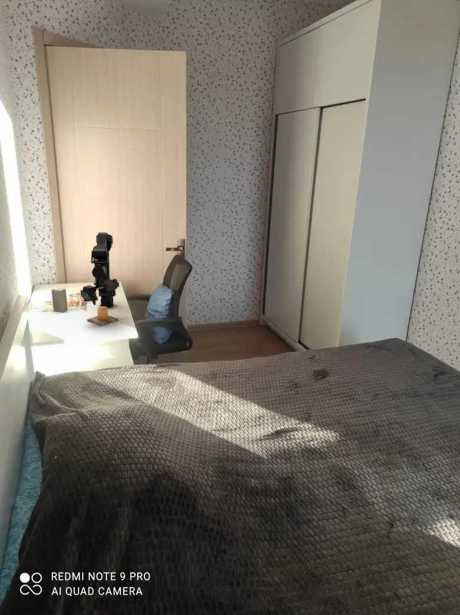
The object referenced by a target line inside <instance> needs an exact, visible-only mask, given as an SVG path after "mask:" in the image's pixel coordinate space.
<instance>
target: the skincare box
mask: <svg viewBox="0 0 460 615" xmlns="http://www.w3.org/2000/svg"><path fill="white" fill-rule="evenodd" d="M51 299H52V306H53V307H52V308H53V312H57V313H58V312H60V313H64V312H67V311H68V299H67V289H66V288H65V287H63V288H62V287H54V288H52V289H51Z"/></svg>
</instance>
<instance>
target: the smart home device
mask: <svg viewBox="0 0 460 615" xmlns="http://www.w3.org/2000/svg"><path fill="white" fill-rule="evenodd" d="M79 293H80V294H81V295H80V296H81V297H83V298H82V300H83V299H84V300H83V302H92V301H91V299H90V297H89V296H88V294H86V293H85V292H83V289H80V292H79ZM97 301H99V296H98V295H97V294H96V302H97Z"/></svg>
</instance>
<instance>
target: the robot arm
mask: <svg viewBox="0 0 460 615" xmlns="http://www.w3.org/2000/svg"><path fill="white" fill-rule="evenodd" d="M95 243H96V245H94V246H93V248H92V249H91V254H90V256H91V257H90V265H91V264H92V265H93V268H92V270H91V275H92V276H93V278H94V282H93V285H90V284H89V285H85V286H83V287H82V290H83V292H85V293H86V294H88V296H89V297H90V299H91V301H90V302H91V303H92V304H93V305H94V306H96V305H97V301H96V295H97V294H98V298H99V297H100V300H99V301H100V304H99V306H98V307H101V306H105V307H107V308H108V309H109V308H113V307H116V304H114V297H116V296H117V292H116V290H117V289H118V288H119V287H120V283H119V281H118V279H117V278H113V279H111V270H110V269H111V268H110V267H111V266H110V251H111V249H112V247H113V244H114V237H113V235H111V234H109V233H108V232H101V231H100V232H97V234H96V236H95ZM97 291H98V292H97Z"/></svg>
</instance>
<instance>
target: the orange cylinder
mask: <svg viewBox="0 0 460 615" xmlns="http://www.w3.org/2000/svg"><path fill="white" fill-rule="evenodd" d="M96 311H97V312H96V313H97V316H98V320H100V321H104V320H107V319H108V315H109V313H108V312H109V308H107V307H105V306H97V310H96Z"/></svg>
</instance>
